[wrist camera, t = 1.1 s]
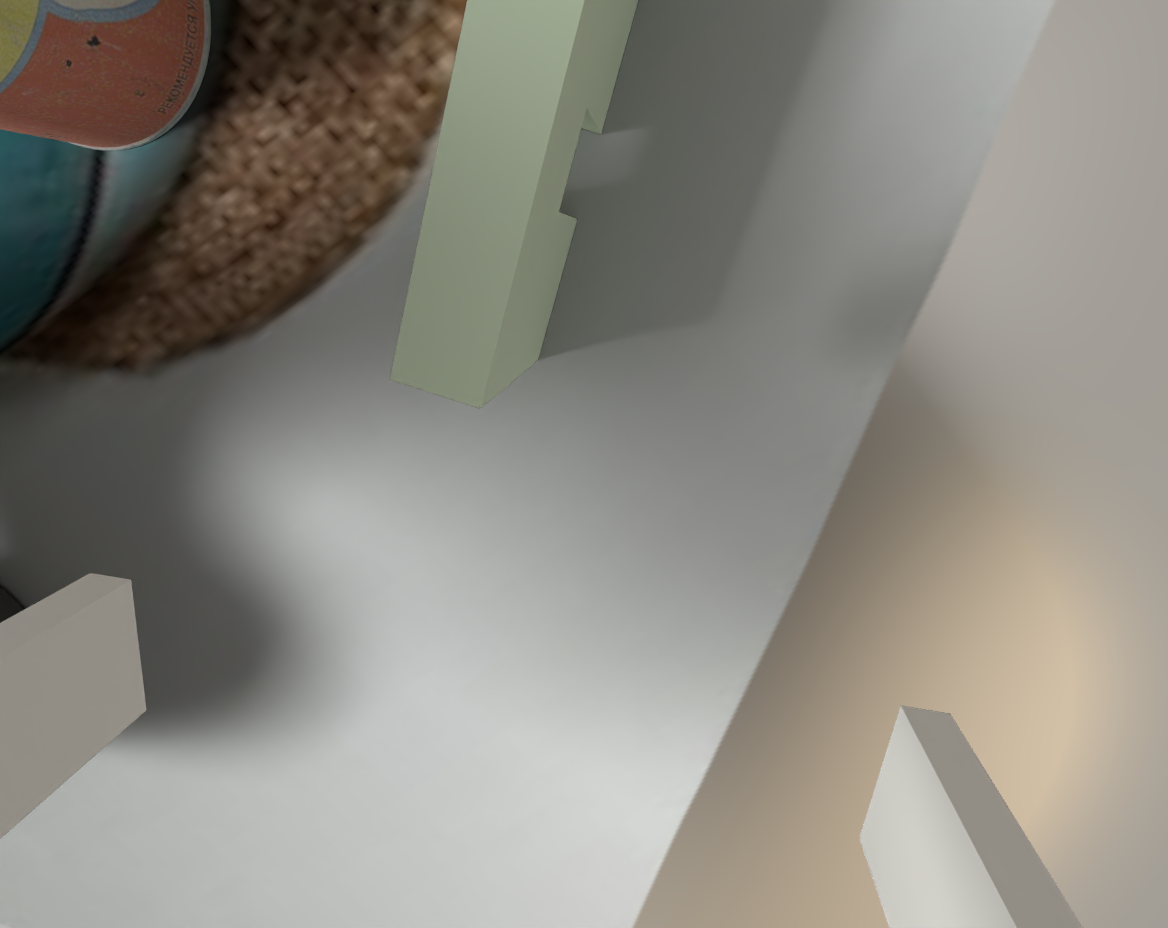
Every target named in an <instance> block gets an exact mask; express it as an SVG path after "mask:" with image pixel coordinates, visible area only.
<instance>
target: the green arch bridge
mask: <svg viewBox="0 0 1168 928" xmlns="http://www.w3.org/2000/svg"><path fill="white" fill-rule="evenodd" d="M637 4H638V0H467V4H466V9H465V14H464V19H463V24H462V28H461V33H460V38H459V43H458V48H457V53H456V58H455V63H454V67H453V72H452V77H451V82H450V87H449V92H448V97H447V102H446V107H445V111H444V116H443V121H442V126H441V131H440V136H439V141H438V146H437V150H436V155H435V160H434V165H433V170H432V175H431V180H430V185H429V189H428V194H427V199H426V204H425V209H424V214H423V219H422V224H421V229H420V233H419V238H418V243H417V248H416V253H415V258H414V263H413V268H412V272H411V277H410V282H409V287H408V292H407V297H406V302H405V307H404V311H403V316H402V321H401V326H400V331H399V336H398V341H397V346H396V351H395V355H394V360H393V365H392V370H391V375H390V380H393V381H396V382H399V383H402V384H406V385H409V386H412V387H415V388H418V389H421V390H424V391H427V392H430V393H433V394H436V395H439V396H442V397H445V398H449V399H452V400H455V401H458V402H461V403H464V404H467V405H470V406H473V407H476V408H479V409H480V408H482V407H483V406H484V405H485V404H486V403H488V402H489V401H490V400H491V399H492V398H494V397H495V396H496V395H497V394H498V393H500V392H501V391H502V390H503V389H504V388H506V387H507V386H508V385H509V384H510V383H512V382H513V381H514V380H515V379H516V378H517V377H519V376H520V375H521V374H522V373H523V372H525V371H526V370H527V369H528V368H529V367H531V366H532V365H533V364H534V363H535V362H537V361H538V359H539V355H540V352H541V348H542V345H543V341H544V337H545V334H546V330H547V327H548V323H549V319H550V316H551V312H552V309H553V305H554V302H555V298H556V294H557V291H558V287H559V284H560V280H561V276H562V273H563V269H564V266H565V262H566V258H567V255H568V251H569V248H570V244H571V241H572V237H573V233H574V230H575V226H576V223H577V219H576V218H573V217H571V216H568V215H565V214H563V213H560V212H559V210H560V206H561V202H562V198H563V195H564V191H565V187H566V184H567V180H568V176H569V172H570V169H571V165H572V161H573V158H574V154H575V150H576V146H577V143H578V139H579V135H580V131H581V128H582V129H586V130H589V131H592V132H595V133H598V134H601V133H602V129H603V126H604V122H605V119H606V115H607V111H608V108H609V104H610V101H611V97H612V93H613V90H614V86H615V83H616V79H617V76H618V72H619V68H620V65H621V61H622V58H623V54H624V50H625V47H626V43H627V40H628V36H629V32H630V29H631V25H632V22H633V18H634V15H635V11H636V7H637Z"/></svg>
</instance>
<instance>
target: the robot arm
mask: <svg viewBox="0 0 1168 928" xmlns="http://www.w3.org/2000/svg"><path fill="white" fill-rule="evenodd" d="M145 711H146V701H145V693H144V684H143V676H142V667H141V659H140V651H139V642H138V634H137V625H136V617H135V608H134V600H133V591H132V583H131V580H130V579H124V578H118V577H112V576H106V575H100V574H94V573H89V574H88V575H86V576H84V577H82V578H80V579H79V580H77V581H75V582H73V583H71V584H70V585H68V586H66V587H64V588H62V589H61V590H59V591H57V592H55V593H53V594H52V595H50V596H48V597H46V598H44V599H43V600H41V601H39V602H37V603H35V604H34V605H32V606H30V607H28V608H26V609H25V610H23V608H22V607H21V606H20V605H19V604H18V603H17V602H16V601H15V600H14V599H13V598H12V597H11V596H10V595H9V594H8V593H6V592H5V591H4V590H3V589H2V588H1V587H0V839H1V838H2V837H3V836H4V835H5V834H6V833H8V832H9V831H10V830H11V829H12V828H13V827H14V826H16V825H17V824H18V823H19V822H20V821H21V820H22V819H24V818H25V817H26V816H27V815H28V814H29V813H30V812H31V811H33V810H34V809H35V808H36V807H37V806H38V805H39V804H41V803H42V802H43V801H44V800H45V799H46V798H47V797H49V796H50V795H51V794H52V793H53V792H54V791H55V790H56V789H58V788H59V787H60V786H61V785H62V784H63V783H64V782H66V781H67V780H68V779H69V778H70V777H71V776H72V775H74V774H75V773H76V772H77V771H78V770H79V769H80V768H81V767H83V766H84V765H85V764H86V763H87V762H88V761H89V760H91V759H92V758H93V757H94V756H95V755H96V754H97V753H99V752H100V751H101V750H102V749H103V748H104V747H105V746H106V745H108V744H109V743H110V742H111V741H112V740H113V739H114V738H116V737H117V736H118V735H119V734H120V733H121V732H122V731H124V730H125V729H126V728H127V727H128V726H129V725H130V724H131V723H133V722H134V721H135V720H136V719H137V718H138V717H139V716H141V715H142V714H143V713H144V712H145ZM860 841H861V844H862V847H863V850H864V854H865V857H866V860H867V863H868V865H869V869H870V871H871V875H872V877H873V881H874V884H875V887H876V889H877V893H878V896H879V899H880V902H881V904H882V907H883V911H884V914H885V916H886V920H887V923H888V926H889V928H1083V927H1082V925H1081V924H1080V922H1079V920H1078V919H1077V917H1076V916H1075V914H1074V912H1073V911H1072V909H1071V908H1070V906H1069V904H1068V903H1067V901H1066V900H1065V898H1064V896H1063V895H1062V893H1061V891H1060V890H1059V888H1058V887H1057V885H1056V883H1055V882H1054V880H1053V878H1052V877H1051V875H1050V874H1049V872H1048V870H1047V869H1046V867H1045V866H1044V864H1043V862H1042V861H1041V859H1040V858H1039V856H1038V854H1037V853H1036V851H1035V849H1034V848H1033V846H1032V845H1031V843H1030V841H1029V840H1028V838H1027V837H1026V835H1025V833H1024V832H1023V830H1022V828H1021V827H1020V825H1019V824H1018V822H1017V821H1016V819H1015V817H1014V816H1013V815H1012V812H1011V811H1010V809H1009V808H1008V806H1007V805H1006V803H1005V801H1004V800H1003V798H1002V797H1001V795H1000V793H999V791H998V790H997V788H996V787H995V785H994V783H993V782H992V780H991V779H990V777H989V775H988V774H987V772H986V770H985V769H984V767H983V766H982V764H981V762H980V761H979V759H978V758H977V756H976V754H975V753H974V751H973V750H972V748H971V746H970V745H969V743H968V741H967V740H966V738H965V737H964V735H963V734H962V732H961V730H960V729H959V727H958V725H957V724H956V722H955V721H954V719H953V717H952V716H951V714H950V713H944V712H938V711H931V710H925V709H918V708H913V707H907V706H900V709H899V713H898V716H897V719H896V722H895V726H894V729H893V732H892V735H891V738H890V742H889V745H888V748H887V751H886V754H885V758H884V761H883V764H882V767H881V770H880V774H879V777H878V780H877V783H876V786H875V790H874V793H873V796H872V799H871V802H870V806H869V809H868V812H867V815H866V818H865V822H864V825H863V828H862V831H861V835H860Z"/></svg>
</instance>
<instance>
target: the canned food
mask: <svg viewBox="0 0 1168 928" xmlns="http://www.w3.org/2000/svg"><path fill="white" fill-rule="evenodd" d="M210 40H211V13H210V2H209V0H0V129H2V130H7V131H13V132H18V133H23V134H29V135H34V136H39V137H45V138H50V139H55V140H61V141H66V142H69V143H71V144H75V145H78V146H81V147H86V148H91V149H96V150H106V151H116V150H126V149H132V148H135V147H139V146H142V145H145V144H147V143H149V142H151V141H153V140H155V139H157V138H158V137H160V136H162V135H163V134H164V133H166V132H167V131H168V130H170V129H171V128H172V127H173V126H174V125H175V124H176V123H177V122H178V121H179V120H180V119H181V118H182V116H183V115H184V114H185V113H186V111H187V110H188V108H189V107H190V105H191V103H192V102H193V100H194V98H195V96H196V94H197V92H198V90H199V88H200V85H201V82H202V80H203V77H204V74H205V70H206V66H207V62H208V56H209V50H210Z"/></svg>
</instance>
